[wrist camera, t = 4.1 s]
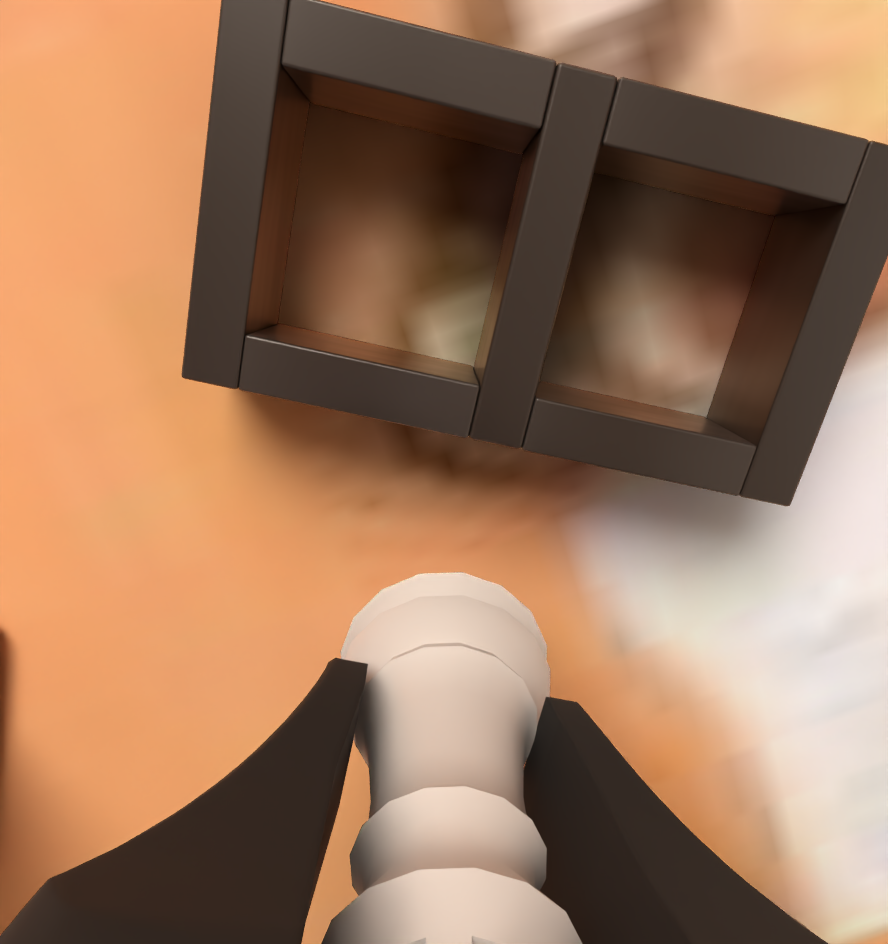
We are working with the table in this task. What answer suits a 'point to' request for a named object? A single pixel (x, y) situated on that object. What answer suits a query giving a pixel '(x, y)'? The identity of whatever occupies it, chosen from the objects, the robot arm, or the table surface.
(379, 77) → the rack
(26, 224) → the table surface
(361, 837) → the rook chess piece
